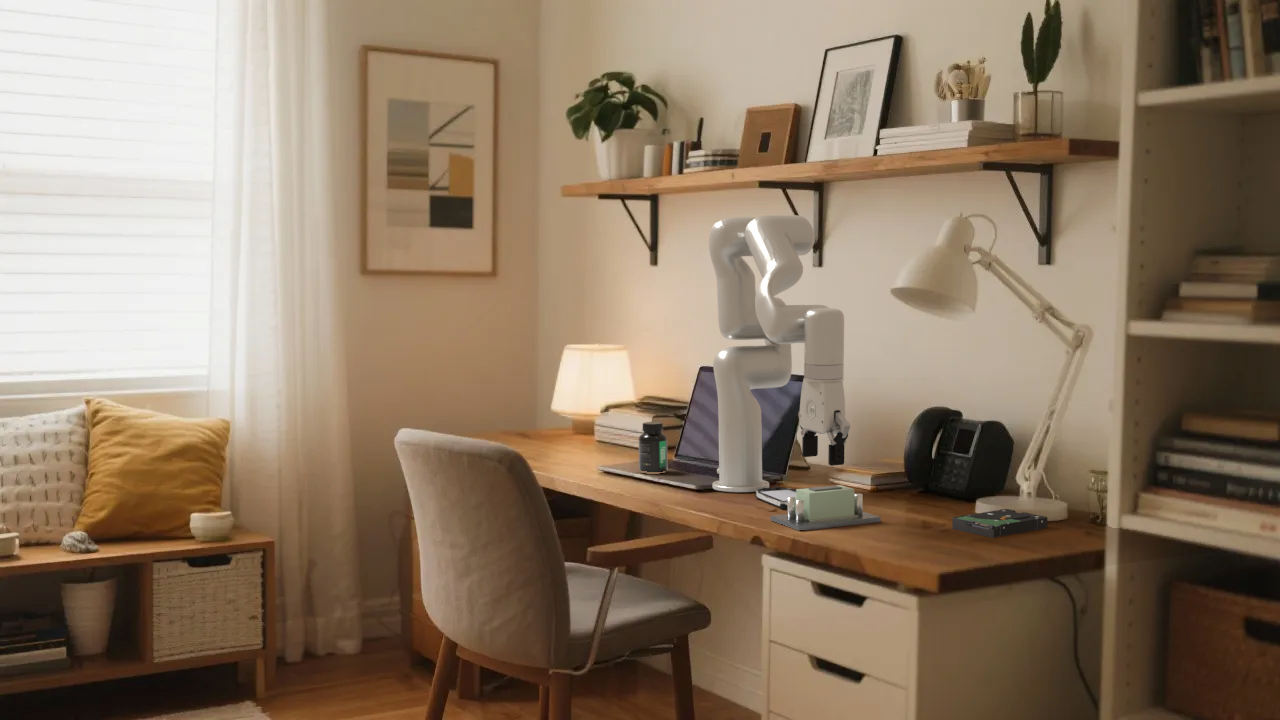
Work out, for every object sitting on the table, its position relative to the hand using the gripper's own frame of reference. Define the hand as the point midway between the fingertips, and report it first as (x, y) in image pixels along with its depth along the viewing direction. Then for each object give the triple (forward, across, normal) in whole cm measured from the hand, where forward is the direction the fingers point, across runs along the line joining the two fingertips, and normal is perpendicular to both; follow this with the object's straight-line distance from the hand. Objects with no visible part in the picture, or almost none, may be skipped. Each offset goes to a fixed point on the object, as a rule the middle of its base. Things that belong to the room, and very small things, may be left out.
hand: (822, 460), depth 259 cm
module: (+10, +1, 0) cm, 11 cm away
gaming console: (+13, -20, +3) cm, 24 cm away
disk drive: (+12, +22, +25) cm, 35 cm away
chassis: (+12, +1, 0) cm, 12 cm away
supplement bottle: (+15, -70, -5) cm, 71 cm away
